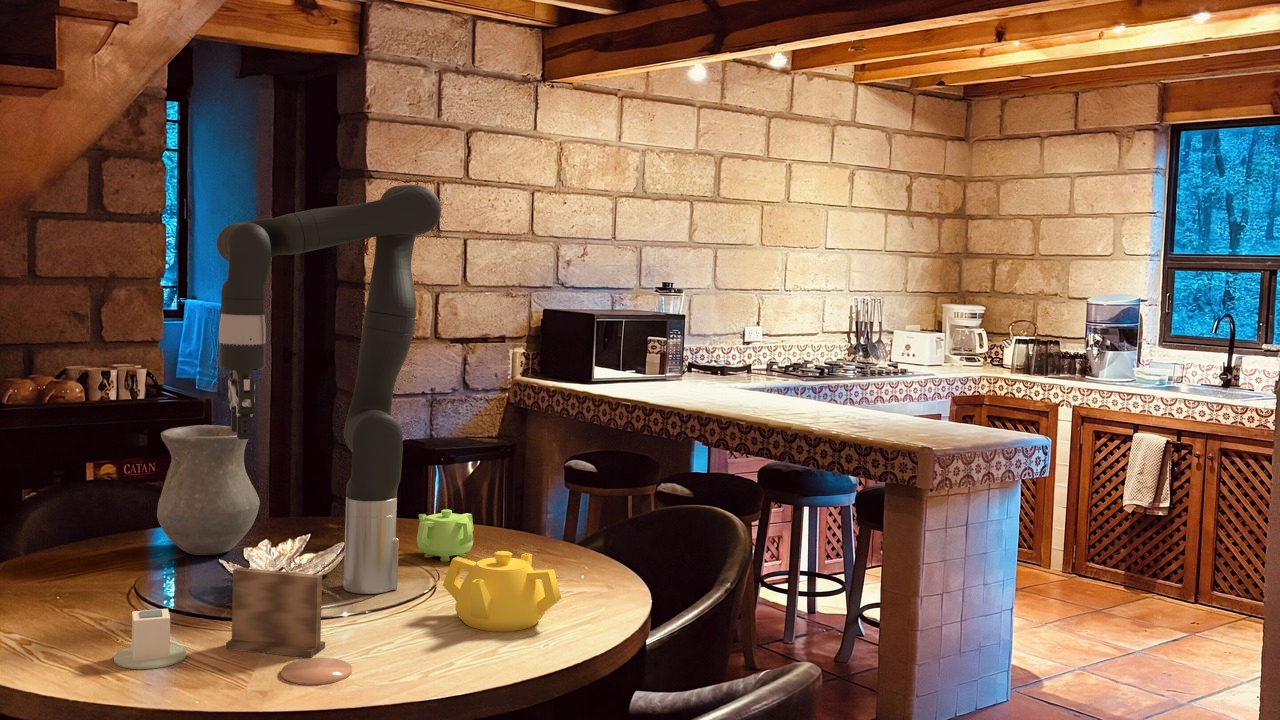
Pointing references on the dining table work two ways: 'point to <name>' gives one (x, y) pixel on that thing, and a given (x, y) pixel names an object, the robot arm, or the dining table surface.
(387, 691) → the dining table surface
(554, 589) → the teapot
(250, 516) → the vase
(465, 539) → the teapot
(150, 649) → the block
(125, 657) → the sage coaster
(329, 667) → the terracotta coaster
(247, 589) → the occluder board
